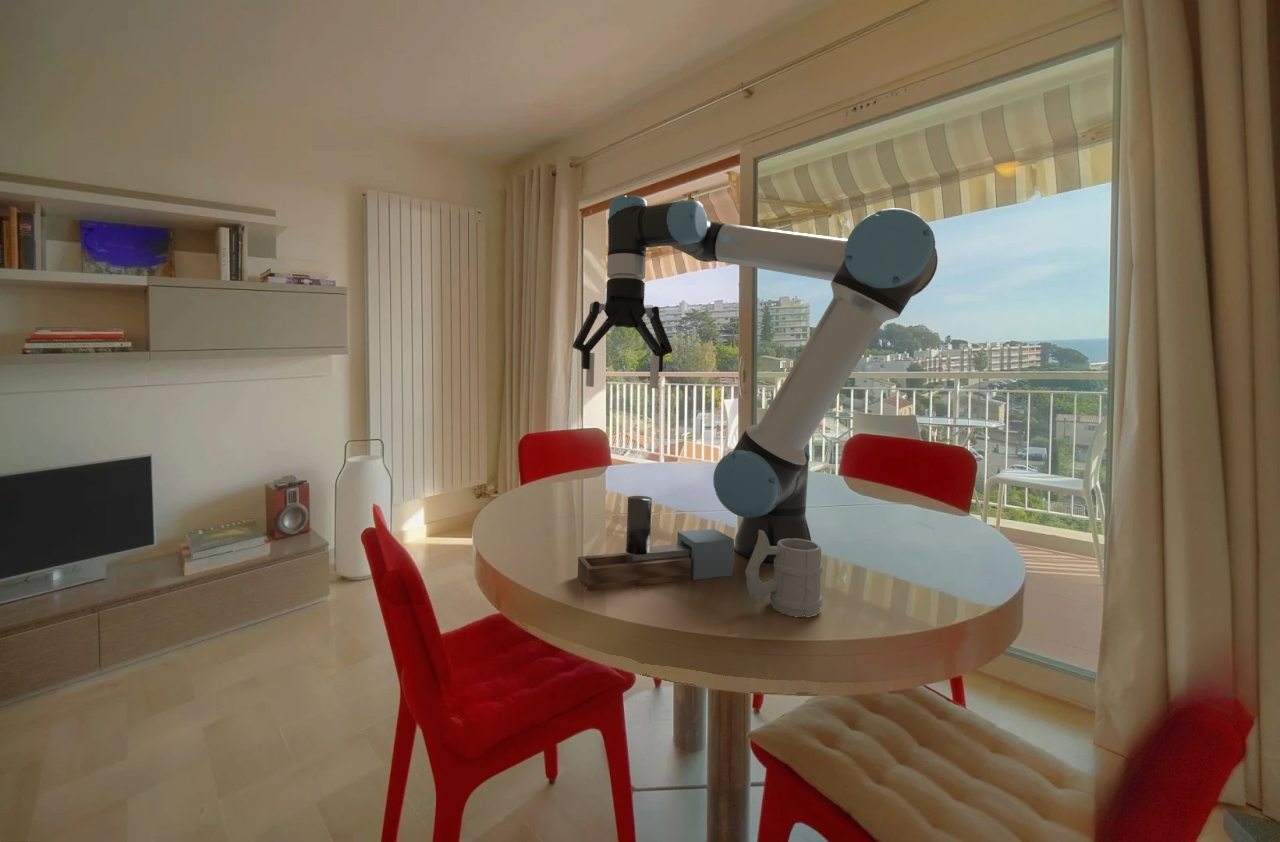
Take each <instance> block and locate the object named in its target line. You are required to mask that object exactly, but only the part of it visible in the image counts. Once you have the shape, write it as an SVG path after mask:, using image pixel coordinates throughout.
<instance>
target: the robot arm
mask: <svg viewBox="0 0 1280 842" xmlns="http://www.w3.org/2000/svg"><path fill="white" fill-rule="evenodd" d="M608 209H609V211H608V218H607V229H608V231H607V233H608V235H607V236H608V240H607V241H608V242H607V243H608V244H607V246H608V247H607V250H608V251H607V265H606V269H607V271H606V276H607V278H609V279H608V280H607V281H606V296H605V299H606V300H605V303H600V302H599V301H593V302H590V305H589V313H588V315H587V317H586V318H585V321H584V323H583V325H582V327H581V328H580V330H579V332H578V334H577V336H576V338H575V340H574V341H573V343H572V348H573V349H575V350H577V351H580V352H581V367H582V370H585V371H586V373H585V374H586V375H585V376H586V377H585V379H586V380H585V387H591V388H592V387H594V386H595V352H591V351H592V350H593V349H594V347H595V346H597V344H598V343H599V342H600V341H601V340H602V339H603V338H604V336H605V335H606V334H607V333H608V332H609V331H610V330H611V329H612V327H615V328H622V327H624V328H627V329H632V328H634V329H635V330H636V331H637V332H638V334H639V335H640V336H641V338H642V339H643V341H644V342H645V343H646V345H647V346H648V348H649V349H650V351H651V352H652V354H653V355H651V356H650V363H649V365H650V366H649V367H650V368H649V369H650V370H649V388H650V389H659V378H660V377H659V373H662V372H663V370H664V369H663V368H664V356H666V355H668V354H672V352H673V348H672V345H671V344H670V343H671V342H670V339H669V338H668V335H667V333H666V331H665V328H664V325H663V323H662V320H661V318H660V308H659V307H658V306H657V305H655V306H652V307H646V306H645V287H646V283H645V281H643V280H644V279H645V278H646V255H647V254H646V253H647V248H658V247H671V248H674V249H675V250H678V251H680V252H682V253H684V254H686V255H687V256H690V257H692V258H693V259H695V260H697V261H701V262H705V263H712V262H719V263H727V264H730V265H731V264H732V265H736V266H743V267H749V268H753V269H755V268H756V269H761V270H766V271H771V272H777V273H778V272H779V273H784V274H789V275H794V276H795V275H796V276H801V277H806V278H813V279H818V280H824V281H829V282H830V281H831V282H830V286H831V291H832V295H833V297H832V300H830V303H829V305H828V306H827V308H826V310H825V311H824V313H823V314H822V316H821V318H820V320H819V321H818V323H817V325H816V327H815V328H814V330H813V332H811V333H812V334H811V336H809V338H808V340H807V342H806V344H805V346H804V347H803V349H802V350H801V352H800V354H799V356H798V357H797V358H796V361H795V362H794V364H793V366H792V368H791V369H790V371H789V372H788V374H787V375H786V378H785V379H784V381H783V383H782V384H781V386H780V388H779V390H778V391H777V392H776V395H775V396H774V398H773V400H772V401H771V403H770V405H769V406H768V409H766V411H765V413H764V415H763V416H762V418H761V420H760V422H758V423H757V424H753V425H750V426H747V427H746V428H745V430H744V431H743V433H742V435H741V437H740V439H739V440H738V441H737V443H736V445H735V447H734V449H733V450H731V451H729V452H728V453H726V455H724V456H723V457H722V458H721V459H720V460H719V461H718V463H717V465H716V466H715V469H714V472H713V476H712V477H713V480H712V482H713V484H712V485H713V487H714V490H715V495H716V496H717V499H718V500H719V502H720V503H721V504H722V506H723V507H724V508H725V509H726V510H728V511H729V512H731V513H733V515H736V516H740V517H742V519H741V521H740V524H739V526H738V527H739V528H738V529H737V532H736V535H735V536H734V550H735V551H736V552H737V553H738V554H740V555H742V556H743V557H746V558H749V559H750V558H751V556H752V554H753V551H754V548H755V545H756V544H757V540H758V531H759V530H762V531H764V532H765V534H766V536H767V538H768V541H769V544H770V546H777V542H778V541H779V540H782V539H789V538H791V539H794V538H796V539H803V540H809V541H812V537H811V532H810V528H809V525H808V522H807V517H806V511H807V498H808V495H807V494H808V493H807V492H808V479H809V477H808V476H809V475H808V474H809V465H810V464H809V463H810V458H811V456H810V446H809V441H810V440H811V438H812V437H813V435H814V433H815V432H816V430H817V428H818V427H819V426H820V423H822V420H823V419H824V417H825V416H826V415H827V413H828V411H829V410H830V408H831V406H832V405H833V403H834V402H835V401H836V398H837V397H838V396H839V394H840V392H841V391H842V389H843V387H845V384H846V383H847V381H848V379H849V378H850V376H851V375H852V372H853V371H854V370H855V368H856V367H857V365H858V364H859V362H860V360H861V358H863V355H864V354H865V353H866V351H867V349H868V347H869V346H870V344H871V343H872V341H873V340H874V338H875V336H876V335H877V333H878V332H879V330H880V328H881V327H882V325H883V324H884V323H885V322H887V321H890V320H895V319H896V318H899V317H900V316H901V314H902V312H903V310H904V309H905V308H906V306H907V305H908V303H909V301H910V300H911V299H912V297H914V296H916V295H918V294H919V293H921V292H922V291H923V290H924V289H925V288H926V287H928V285H929V284H930V283H931V281H932V280H933V278H934V276H935V274H936V271H937V268H938V259H939V258H938V252H937V248H936V240H935V239H936V238H935V234H934V232H933V230H932V228H931V226H930V225H929V224H928V223H927V222H926V221H925V219H923V218H922V217H921V216H920V215H918V214H917V213H915V212H913V211H911V210H908V209H905V208H898V207H897V208H896V207H893V208H885V209H881V210H878V211H876V212H872V213H871V214H869V215H867V216H866V217H865V218H863V219H862V220H860V222H858V223H857V224H856V225H855V227H854V228H853V229H852V231H851V232H850V233H849V236H848V237H847V238H838V237H832V236H826V235H816V234H809V233H802V232H794V231H785V230H778V229H771V228H766V227H765V228H764V227H763V228H762V227H756V226H749V225H742V224H741V225H740V224H733V223H724V222H718V221H711V220H708V217H707V216H708V215H707V213H706V210H705V208H704V206H703V204H702V203H701V202H700V201H698V200H695V199H691V200H683V199H681V200H676V201H674V202H668V203H660V204H653V205H648V202H647V200H646V199H645V198H643V197H642V196H639V195H634V194H633V195H631V194H630V195H626V194H625V195H623V194H622V195H618V196H615V197H614V198H613V199H611V201H610V204H609V207H608ZM603 311H604V313H605V315H606V317H607V318H606V319H605V320H604V321H603V322H602V324H601V325H600V327H599V328H598V329H597V330H596V332H594V333H593V334H592V336H591V337H590V338H589V340H587V337H589V333H590V332H591V330H592V328H593V326H594V324H595V322H596V320H597V319H598V316H599V315H600V314H602V312H603ZM645 315H646V317H647V319H649V321H650V322H649V323H650V324H651V327H652V329H653V332H654V334H655V337H654V336H653V334H652V332H651V331H650V330H649V328H648V326H647V324H646V323H645V321H644V320H643V317H644V316H645ZM586 340H587V342H585V341H586ZM584 343H585V344H584ZM775 558H776V555H767V556H766V558H765V559H764V561H763V562H766V563H772V562H774V559H775Z"/></svg>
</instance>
